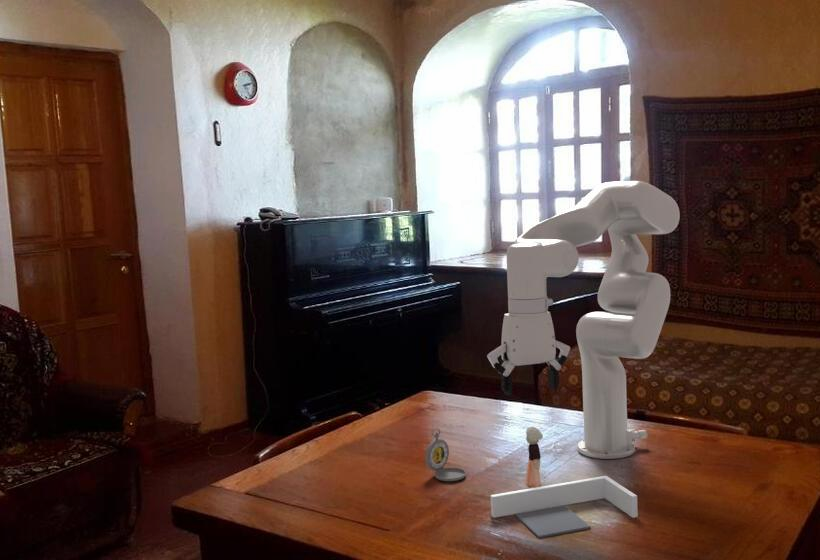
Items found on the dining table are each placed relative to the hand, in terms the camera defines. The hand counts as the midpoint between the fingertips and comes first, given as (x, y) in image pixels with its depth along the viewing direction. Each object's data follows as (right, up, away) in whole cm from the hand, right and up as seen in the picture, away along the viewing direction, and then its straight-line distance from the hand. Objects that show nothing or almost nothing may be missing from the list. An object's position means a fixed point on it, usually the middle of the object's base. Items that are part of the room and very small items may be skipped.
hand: (530, 391), depth 159 cm
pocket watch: (-16, -20, +12) cm, 28 cm away
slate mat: (+2, -22, -14) cm, 26 cm away
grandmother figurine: (+1, -20, +2) cm, 20 cm away
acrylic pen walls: (+4, -21, -12) cm, 25 cm away
